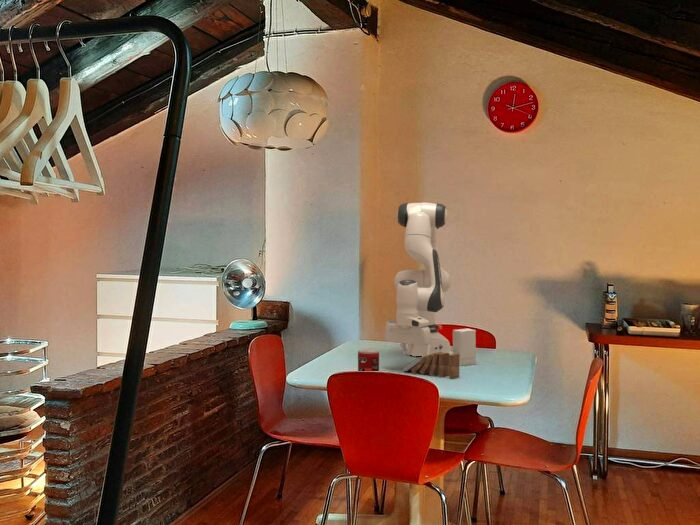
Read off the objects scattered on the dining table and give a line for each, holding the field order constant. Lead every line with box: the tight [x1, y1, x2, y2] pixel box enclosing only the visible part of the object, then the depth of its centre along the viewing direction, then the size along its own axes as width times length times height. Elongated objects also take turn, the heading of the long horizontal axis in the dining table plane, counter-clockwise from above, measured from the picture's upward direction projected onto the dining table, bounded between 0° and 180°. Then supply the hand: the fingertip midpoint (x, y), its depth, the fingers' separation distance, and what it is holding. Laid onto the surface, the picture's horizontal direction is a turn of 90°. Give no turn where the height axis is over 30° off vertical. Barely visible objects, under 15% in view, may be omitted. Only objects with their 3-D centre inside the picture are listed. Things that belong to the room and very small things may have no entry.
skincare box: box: [452, 328, 477, 367], centre depth 303 cm, size 8×6×15 cm
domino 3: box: [419, 353, 434, 375], centre depth 282 cm, size 2×5×9 cm
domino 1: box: [402, 356, 424, 372], centre depth 286 cm, size 2×5×9 cm
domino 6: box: [448, 354, 460, 380], centre depth 275 cm, size 2×5×9 cm, turn 142°
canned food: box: [357, 348, 380, 372], centre depth 272 cm, size 8×8×11 cm
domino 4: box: [428, 352, 443, 377], centre depth 280 cm, size 2×5×9 cm, turn 142°
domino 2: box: [410, 355, 429, 374], centre depth 284 cm, size 2×5×9 cm
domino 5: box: [438, 352, 449, 378], centre depth 278 cm, size 2×5×9 cm, turn 142°
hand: (407, 354), depth 288 cm, fingers closed
